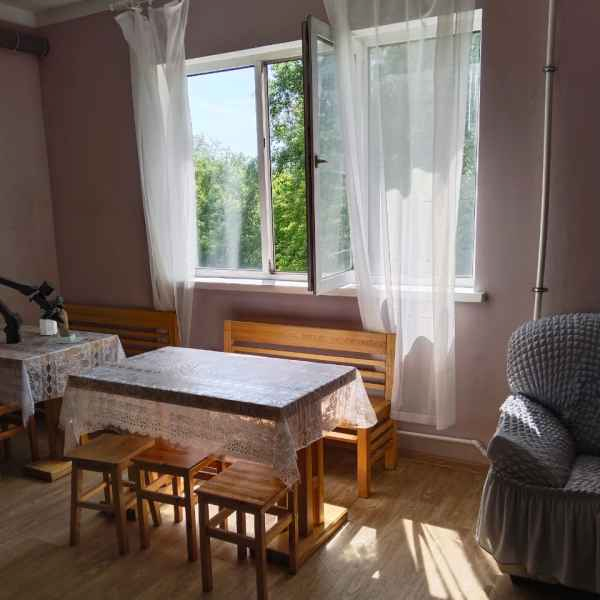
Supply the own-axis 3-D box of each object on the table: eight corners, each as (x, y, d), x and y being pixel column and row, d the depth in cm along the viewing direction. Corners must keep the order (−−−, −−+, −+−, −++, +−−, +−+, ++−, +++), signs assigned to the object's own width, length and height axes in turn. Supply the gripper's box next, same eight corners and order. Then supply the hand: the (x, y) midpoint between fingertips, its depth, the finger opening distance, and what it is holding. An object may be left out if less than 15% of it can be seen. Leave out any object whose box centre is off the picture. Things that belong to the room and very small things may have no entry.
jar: (42, 336, 349) (40, 315, 347) (39, 334, 356) (37, 313, 354) (59, 334, 354) (57, 313, 352) (56, 331, 361) (54, 311, 358)
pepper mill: (60, 337, 335) (58, 310, 332) (59, 335, 338) (56, 309, 336) (69, 335, 337) (67, 309, 334) (67, 334, 341) (65, 308, 338)
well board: (44, 344, 332) (44, 339, 331) (51, 339, 343) (51, 334, 343) (79, 343, 333) (78, 338, 332) (85, 337, 345) (84, 332, 344)
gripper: (46, 294, 324) (69, 315, 326) (59, 288, 342) (81, 308, 344) (32, 309, 325) (55, 329, 328) (46, 303, 344) (68, 322, 346)
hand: (65, 322), depth 336 cm, fingers closed on pepper mill, 5 cm apart
